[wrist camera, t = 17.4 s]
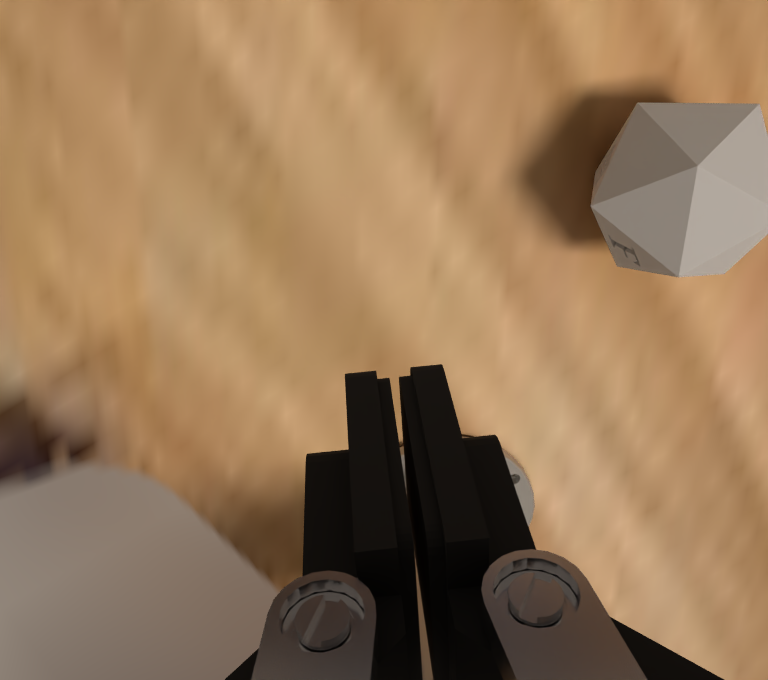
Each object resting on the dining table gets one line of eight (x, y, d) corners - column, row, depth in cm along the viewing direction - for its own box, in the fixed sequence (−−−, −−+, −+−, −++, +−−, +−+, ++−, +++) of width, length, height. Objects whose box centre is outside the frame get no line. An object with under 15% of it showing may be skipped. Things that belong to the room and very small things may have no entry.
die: (578, 76, 37) (556, 235, 32) (777, 27, 32) (781, 207, 28) (618, 181, 43) (604, 327, 39) (789, 154, 38) (794, 316, 34)
